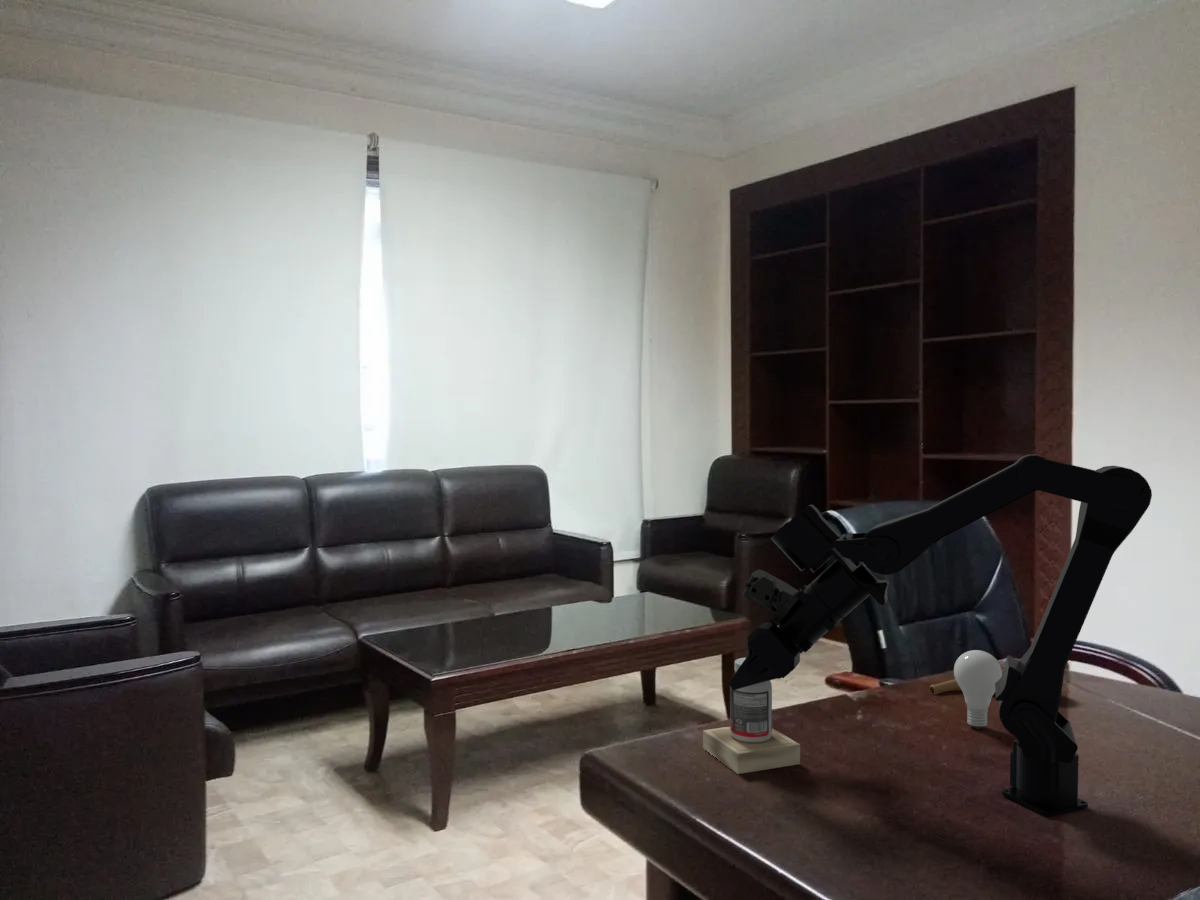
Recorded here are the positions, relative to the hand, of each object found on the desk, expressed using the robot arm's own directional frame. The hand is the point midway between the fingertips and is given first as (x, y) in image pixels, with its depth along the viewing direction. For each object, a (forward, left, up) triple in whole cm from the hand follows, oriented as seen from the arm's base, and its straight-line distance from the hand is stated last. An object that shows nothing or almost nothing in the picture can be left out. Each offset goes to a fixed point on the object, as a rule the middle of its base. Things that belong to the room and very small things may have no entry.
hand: (740, 677), depth 114 cm
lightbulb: (-3, -37, -10) cm, 39 cm away
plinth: (-1, -1, -10) cm, 10 cm away
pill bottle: (-1, -1, -8) cm, 8 cm away
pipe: (+8, -52, -11) cm, 53 cm away
